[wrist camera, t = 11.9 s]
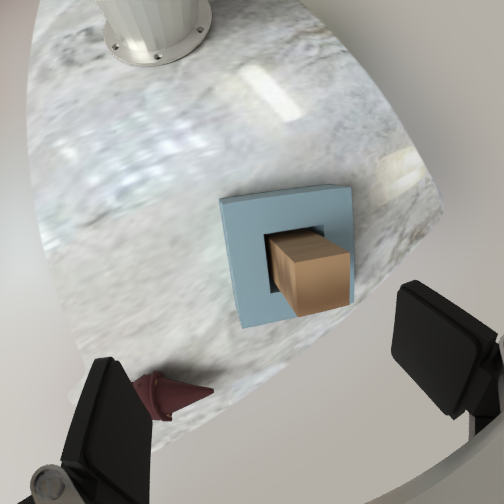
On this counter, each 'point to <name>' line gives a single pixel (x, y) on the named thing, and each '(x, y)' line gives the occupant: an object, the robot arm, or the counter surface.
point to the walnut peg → (308, 270)
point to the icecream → (167, 395)
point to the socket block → (275, 220)
